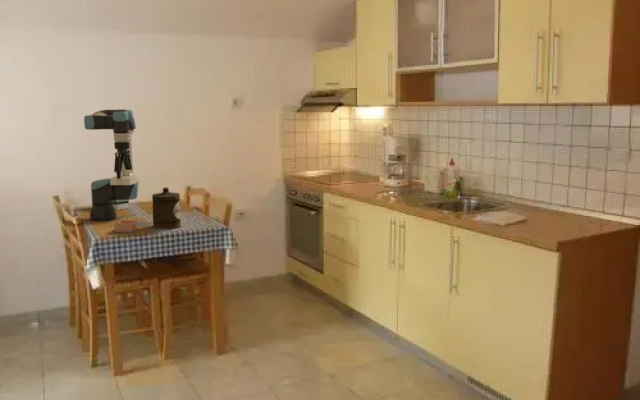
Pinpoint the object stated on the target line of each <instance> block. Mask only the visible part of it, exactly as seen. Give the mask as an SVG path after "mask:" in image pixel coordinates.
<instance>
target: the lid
mask: <svg viewBox="0 0 640 400" xmlns="http://www.w3.org/2000/svg"><path fill="white" fill-rule="evenodd" d="M137 180H138V175H134V176H122V181H123V185H132V184H135V183H138V184H139V182H138V181H139V180H138V181H137ZM110 185H117V175H116V176H113V177H111V178H110Z"/></svg>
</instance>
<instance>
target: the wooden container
mask: <svg viewBox="0 0 640 400" xmlns="http://www.w3.org/2000/svg"><path fill="white" fill-rule="evenodd" d="M180 199H181V198H180V193H179V192H170V190H169V188H168V187H167V186H166V187H163V188H162V191H161V192H157V193H153V194H152V222H153V223H152V227H153V228H155V229H159V230H160V229H161V230H166V229H167V230H173V229H178V228H180V227H181V224H182V223H181V221H182V220H181V203H180V202H181V201H180Z"/></svg>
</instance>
